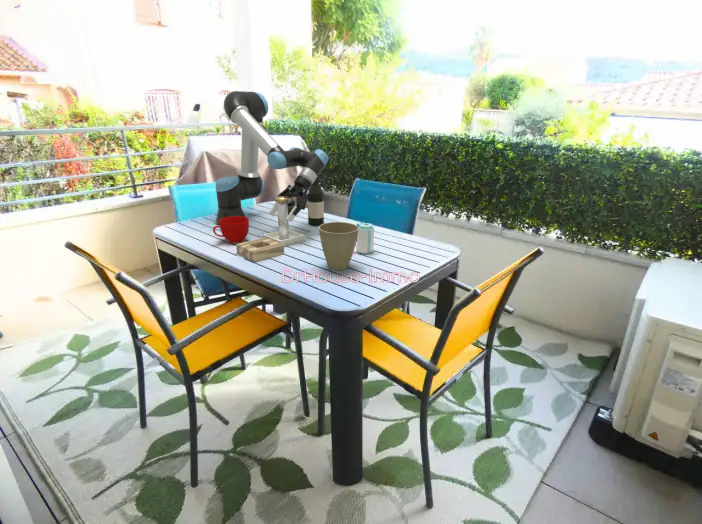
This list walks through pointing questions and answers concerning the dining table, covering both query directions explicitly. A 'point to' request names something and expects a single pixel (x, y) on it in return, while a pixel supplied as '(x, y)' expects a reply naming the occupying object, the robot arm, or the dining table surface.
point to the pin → (282, 217)
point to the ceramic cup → (233, 228)
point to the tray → (293, 239)
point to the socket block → (260, 249)
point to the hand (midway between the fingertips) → (279, 217)
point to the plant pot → (338, 243)
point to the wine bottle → (316, 204)
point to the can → (365, 238)
